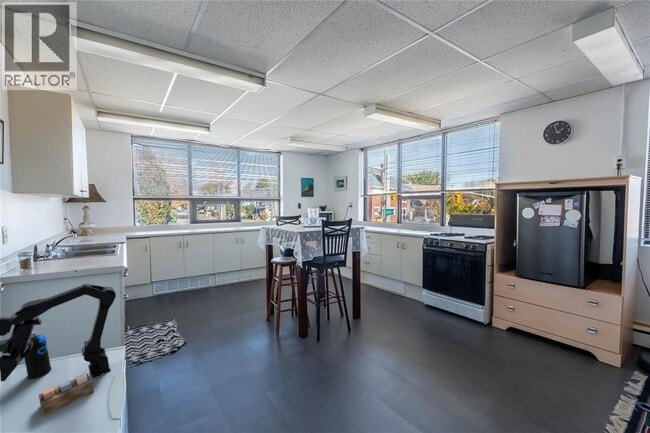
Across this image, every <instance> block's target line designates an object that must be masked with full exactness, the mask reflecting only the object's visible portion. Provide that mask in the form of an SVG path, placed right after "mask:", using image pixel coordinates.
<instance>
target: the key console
mask: <svg viewBox="0 0 650 433" xmlns="http://www.w3.org/2000/svg"><path fill="white" fill-rule="evenodd" d="M85 374H86V375H87V380H88V381H87V382H84V383H82V384H80V385H78V386H77V384H76V378H74V379H72V380H71V379H70V381H71V384H72V388H71V389H69V390H66V391H64V392H62V393H61V391H60V385H58V386H55V387H54V390H55V396H53V397H50V398H48V399H46V400H44V398H43V393H42V392H41V393H39V394H38V399H39V404H40V407H41V408H40V409H41V412H42V414H43V417H45V416H47V415H49V414H52V413H54V412H56V411H58V410H60V409H63V408H64V407H66V406H69V405H71V404H73V403H75V402H77V401H79V400H81V399H84V398H85V397H88V396H90V395H93V394H94V392H95V391H94V386H93V381H92V379H91V377H90V376H89V374H88V373H85Z"/></svg>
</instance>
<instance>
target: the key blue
mask: <svg viewBox="0 0 650 433" xmlns="http://www.w3.org/2000/svg"><path fill="white" fill-rule="evenodd" d="M58 386H60V391H61V393H62V392H64V391H66V390H69V389H71V388H72V384H71V379H68V380H64V381H63V382H60V383H59V384H58Z"/></svg>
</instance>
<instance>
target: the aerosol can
mask: <svg viewBox="0 0 650 433" xmlns="http://www.w3.org/2000/svg"><path fill="white" fill-rule="evenodd" d="M31 335H32V337H31V339H30V340H32V341H33V342H34V343H33V346H32V348H31V350H30V351H29V352H28V353H27V354H26V356H25V357H24V358H23V360H24V364H25V368H26V374H27V376H26V378H27V379H30V380H34V379H38V378H41V377H43V376H45V375H47V374H49V373H50V372H51V371H52V369H51V367H52V366H51V361H50V355H49V351H48V343H47V340H46V339H47V337H46V336H44V335H41V334H40V335H39V334H36V331H32V334H31ZM28 348H29V347H28ZM50 370H51V371H50ZM49 371H50V372H49ZM48 372H49V373H48Z"/></svg>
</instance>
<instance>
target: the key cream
mask: <svg viewBox="0 0 650 433" xmlns="http://www.w3.org/2000/svg"><path fill="white" fill-rule="evenodd" d="M86 374H87V373H82V374H79V375H77V376H75V378H74V379H76V384H77V386H78V385H80V384H82V383H84V382H87V381H88V380H87V375H86Z"/></svg>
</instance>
